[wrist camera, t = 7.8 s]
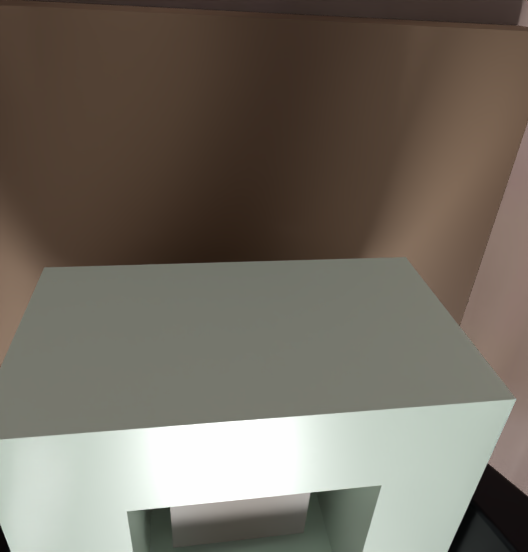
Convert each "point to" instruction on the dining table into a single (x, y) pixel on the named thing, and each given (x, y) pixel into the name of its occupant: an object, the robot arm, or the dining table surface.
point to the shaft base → (250, 155)
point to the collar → (242, 406)
